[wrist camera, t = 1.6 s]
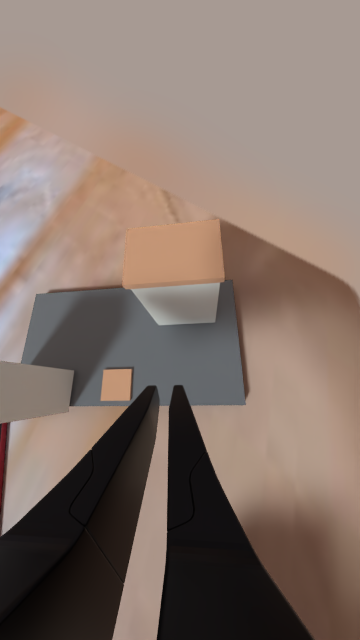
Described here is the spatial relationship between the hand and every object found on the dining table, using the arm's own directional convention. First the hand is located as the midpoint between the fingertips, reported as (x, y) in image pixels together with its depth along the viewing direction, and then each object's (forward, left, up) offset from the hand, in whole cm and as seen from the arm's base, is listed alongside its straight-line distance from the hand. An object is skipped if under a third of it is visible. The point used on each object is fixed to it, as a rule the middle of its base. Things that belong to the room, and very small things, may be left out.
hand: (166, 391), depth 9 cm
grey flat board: (+8, +3, -13) cm, 15 cm away
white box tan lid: (+7, -4, -11) cm, 14 cm away
